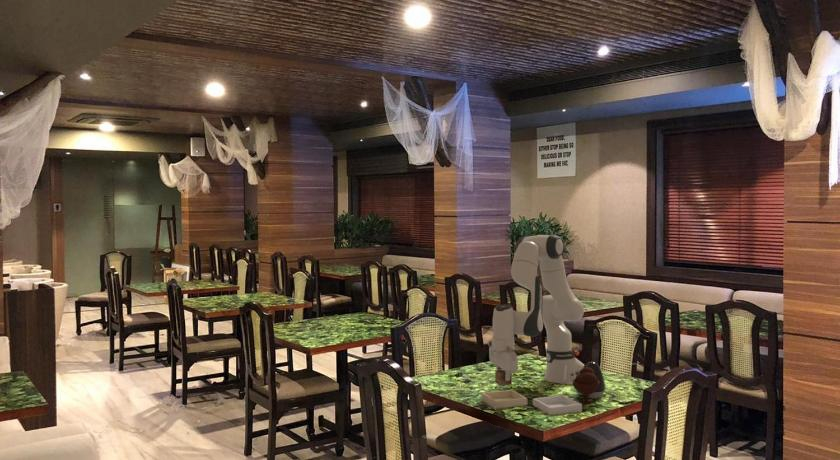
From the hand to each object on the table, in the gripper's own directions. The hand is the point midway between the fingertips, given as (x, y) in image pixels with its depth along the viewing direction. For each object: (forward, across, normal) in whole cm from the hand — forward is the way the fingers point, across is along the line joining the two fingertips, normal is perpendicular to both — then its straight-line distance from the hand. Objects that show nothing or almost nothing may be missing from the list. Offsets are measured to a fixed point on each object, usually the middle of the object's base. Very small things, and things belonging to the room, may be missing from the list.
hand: (503, 378), depth 279 cm
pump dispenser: (+10, -4, -39) cm, 41 cm away
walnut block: (+2, 0, 0) cm, 2 cm away
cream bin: (+10, 0, 0) cm, 11 cm away
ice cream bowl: (+11, -12, -31) cm, 35 cm away
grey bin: (+10, -15, -16) cm, 24 cm away
